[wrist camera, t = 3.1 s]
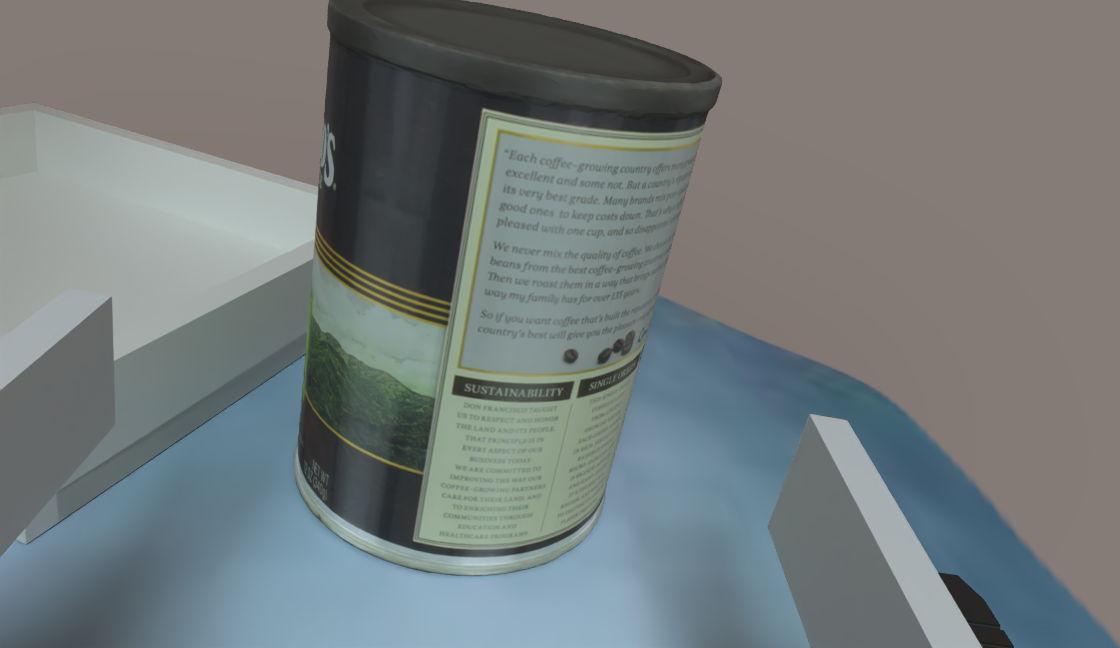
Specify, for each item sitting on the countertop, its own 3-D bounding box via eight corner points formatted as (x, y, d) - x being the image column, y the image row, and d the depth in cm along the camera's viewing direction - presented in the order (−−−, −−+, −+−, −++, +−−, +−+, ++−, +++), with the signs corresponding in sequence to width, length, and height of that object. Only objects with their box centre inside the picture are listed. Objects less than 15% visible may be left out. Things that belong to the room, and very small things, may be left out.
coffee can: (229, 528, 24) (253, -2, 18) (359, 365, 33) (402, -18, 27) (590, 620, 23) (734, 106, 18) (618, 429, 33) (717, 53, 27)
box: (-517, 315, 26) (-564, 187, 24) (39, 181, 44) (34, 102, 42) (26, 544, 22) (15, 411, 20) (392, 293, 40) (403, 212, 38)
